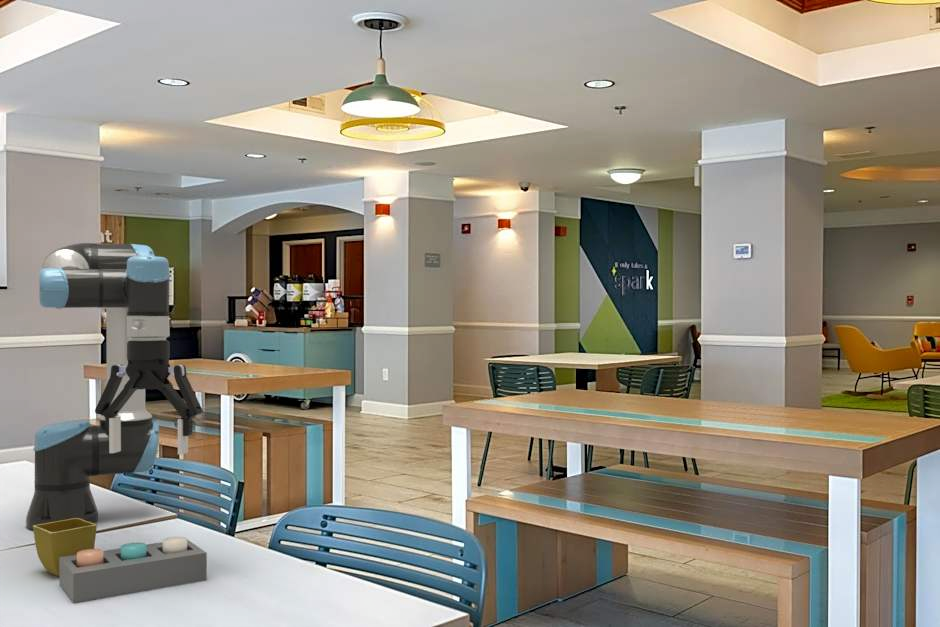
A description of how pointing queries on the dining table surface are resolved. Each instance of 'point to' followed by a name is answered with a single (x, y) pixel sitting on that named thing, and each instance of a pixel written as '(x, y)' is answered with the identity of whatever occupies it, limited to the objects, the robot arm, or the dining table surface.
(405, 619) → the dining table surface
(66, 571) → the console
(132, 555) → the teal button
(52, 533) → the flower pot
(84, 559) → the terracotta button
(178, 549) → the cream button
